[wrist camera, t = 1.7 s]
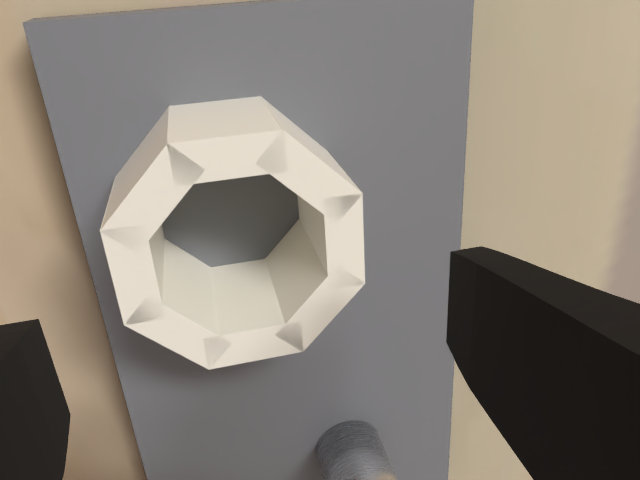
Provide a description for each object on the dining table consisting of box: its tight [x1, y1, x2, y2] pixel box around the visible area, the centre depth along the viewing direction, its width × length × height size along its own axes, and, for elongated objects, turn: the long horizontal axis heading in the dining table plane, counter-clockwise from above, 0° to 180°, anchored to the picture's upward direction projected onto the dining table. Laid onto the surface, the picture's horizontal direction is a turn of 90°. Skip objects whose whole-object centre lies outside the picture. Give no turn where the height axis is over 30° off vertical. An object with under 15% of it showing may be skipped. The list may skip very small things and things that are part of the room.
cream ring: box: [100, 96, 365, 370], centre depth 14 cm, size 6×6×4 cm
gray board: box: [23, 0, 474, 480], centre depth 19 cm, size 20×11×1 cm, turn 4°
